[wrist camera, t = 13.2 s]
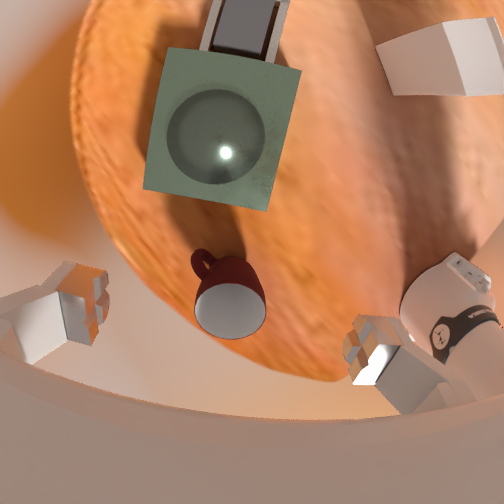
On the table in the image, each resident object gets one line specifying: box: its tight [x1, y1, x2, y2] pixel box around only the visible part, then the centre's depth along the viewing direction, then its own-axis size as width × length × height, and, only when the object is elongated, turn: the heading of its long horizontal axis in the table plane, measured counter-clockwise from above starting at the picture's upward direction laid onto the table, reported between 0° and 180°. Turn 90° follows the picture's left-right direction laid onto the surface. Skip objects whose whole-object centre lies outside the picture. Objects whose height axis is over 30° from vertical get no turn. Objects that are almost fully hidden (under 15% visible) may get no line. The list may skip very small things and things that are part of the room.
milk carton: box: [375, 17, 504, 97], centre depth 21 cm, size 7×7×19 cm
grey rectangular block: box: [213, 0, 275, 60], centre depth 26 cm, size 5×7×5 cm
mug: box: [191, 249, 266, 339], centre depth 37 cm, size 11×8×10 cm
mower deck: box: [143, 0, 302, 212], centre depth 28 cm, size 14×26×6 cm, turn 167°
